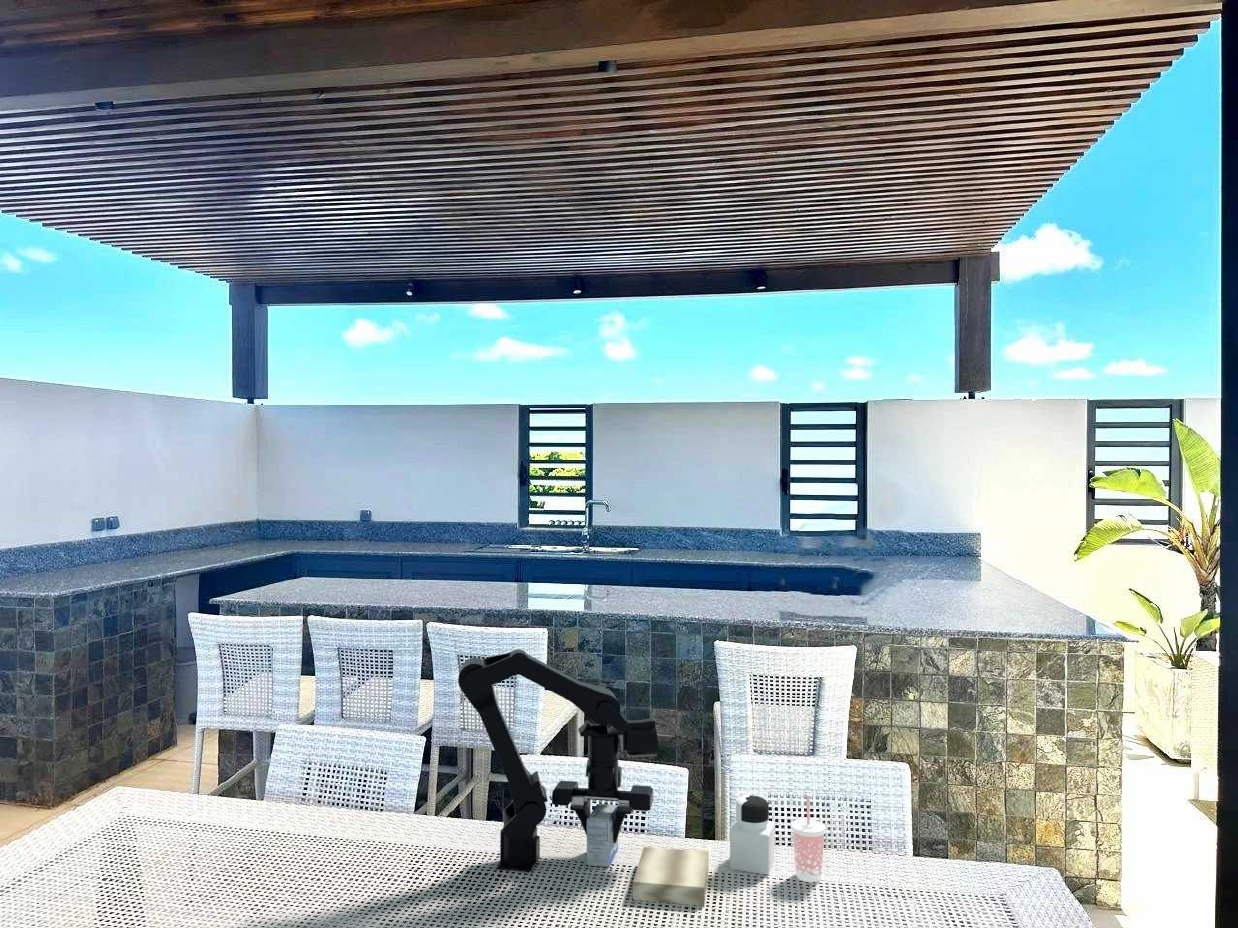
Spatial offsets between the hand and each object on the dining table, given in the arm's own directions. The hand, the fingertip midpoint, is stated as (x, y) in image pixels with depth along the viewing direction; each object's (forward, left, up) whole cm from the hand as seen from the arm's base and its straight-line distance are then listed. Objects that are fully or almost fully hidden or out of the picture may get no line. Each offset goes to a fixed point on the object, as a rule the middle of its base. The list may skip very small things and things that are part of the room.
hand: (602, 841), depth 151 cm
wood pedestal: (+14, -8, -3) cm, 16 cm away
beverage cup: (+38, -1, -3) cm, 38 cm away
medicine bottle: (+28, +2, -3) cm, 28 cm away
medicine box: (0, 0, -3) cm, 3 cm away
